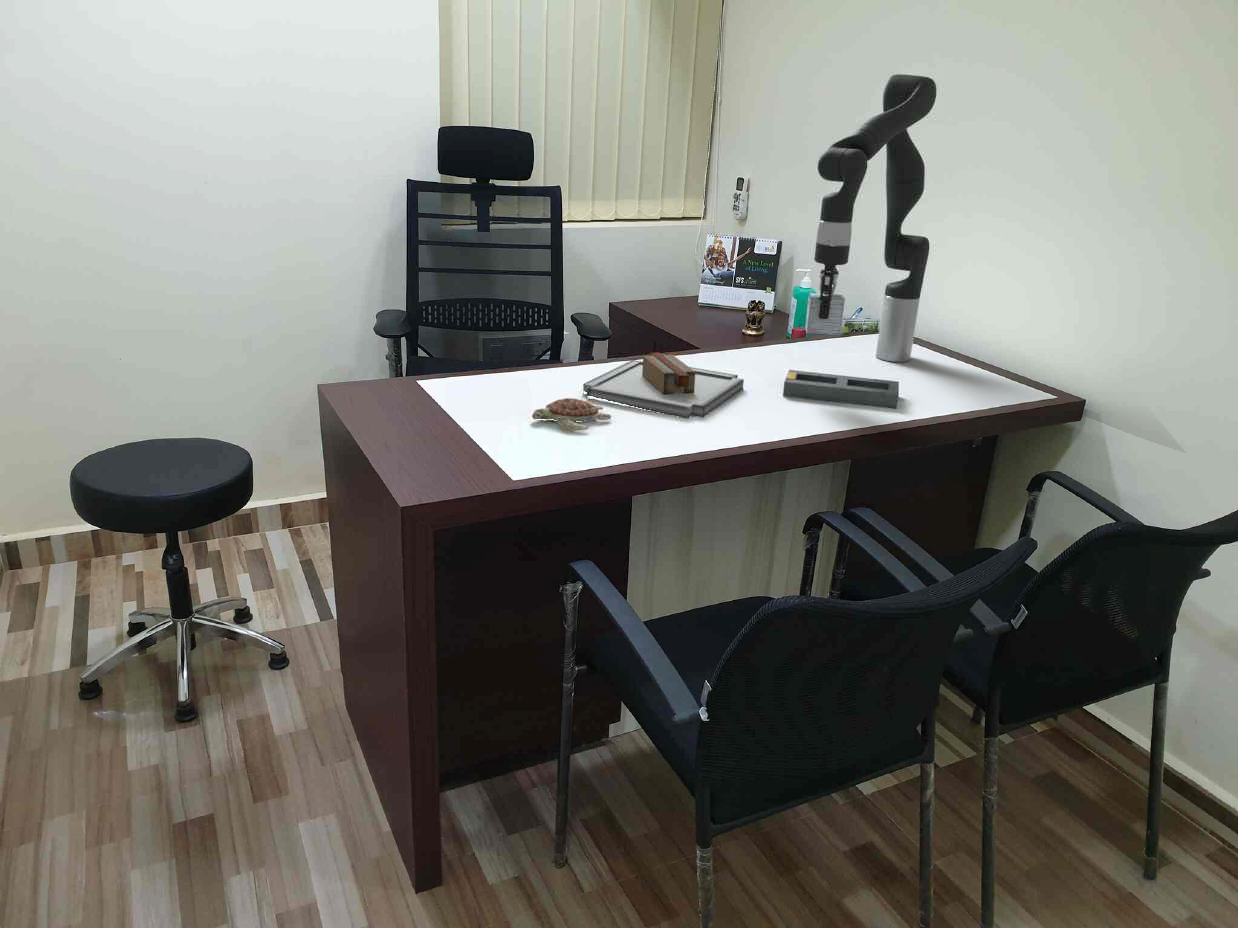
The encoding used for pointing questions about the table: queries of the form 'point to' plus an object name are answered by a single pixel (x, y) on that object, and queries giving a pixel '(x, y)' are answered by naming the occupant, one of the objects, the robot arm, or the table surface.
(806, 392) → the slotted rail
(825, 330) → the medicine box
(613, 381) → the grey square tray
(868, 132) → the robot arm
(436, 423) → the table surface
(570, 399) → the decorative turtle
